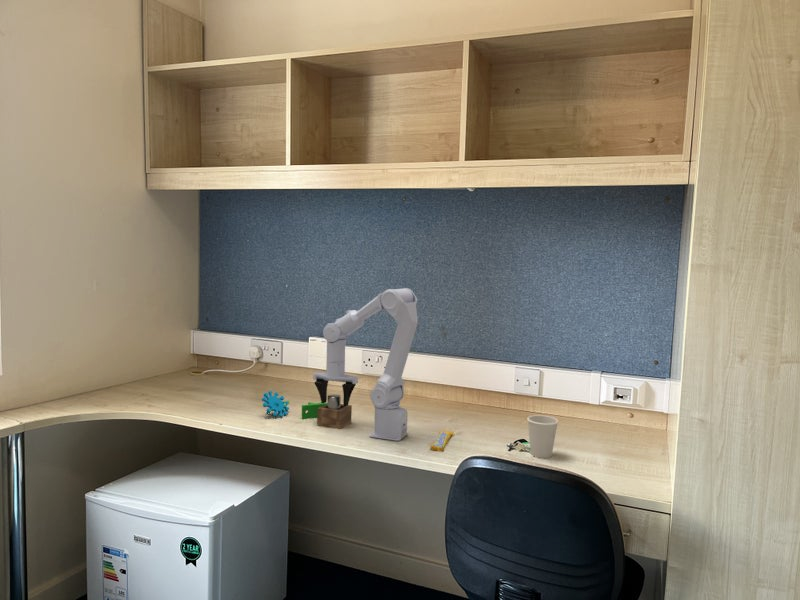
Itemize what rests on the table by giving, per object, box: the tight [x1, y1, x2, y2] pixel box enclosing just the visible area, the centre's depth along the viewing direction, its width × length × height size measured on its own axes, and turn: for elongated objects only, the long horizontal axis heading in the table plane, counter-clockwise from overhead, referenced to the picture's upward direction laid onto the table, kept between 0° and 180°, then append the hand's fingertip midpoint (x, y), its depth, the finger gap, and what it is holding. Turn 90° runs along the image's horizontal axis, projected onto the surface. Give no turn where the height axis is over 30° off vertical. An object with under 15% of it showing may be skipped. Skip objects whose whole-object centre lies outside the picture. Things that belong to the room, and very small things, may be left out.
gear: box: [261, 390, 291, 418], centre depth 199 cm, size 11×6×10 cm
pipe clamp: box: [301, 401, 328, 420], centre depth 198 cm, size 11×4×5 cm, turn 116°
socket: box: [316, 402, 353, 430], centre depth 190 cm, size 8×8×6 cm
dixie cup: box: [526, 414, 559, 459], centre depth 166 cm, size 8×8×10 cm
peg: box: [327, 394, 342, 410], centre depth 189 cm, size 4×4×8 cm
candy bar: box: [429, 430, 455, 452], centre depth 175 cm, size 17×4×2 cm, turn 165°
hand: (334, 404), depth 189 cm, fingers open, 7 cm apart
